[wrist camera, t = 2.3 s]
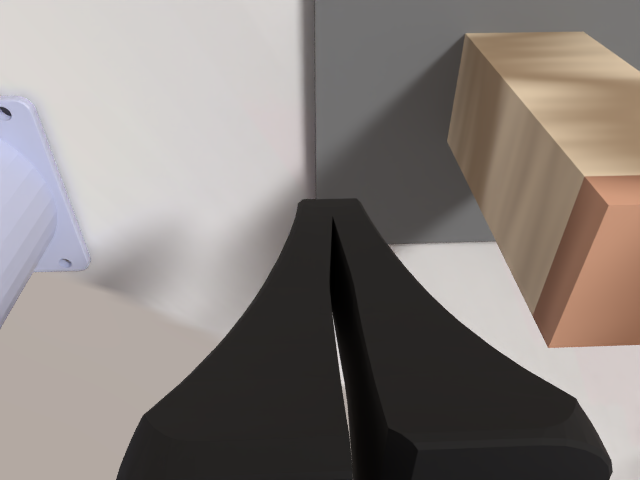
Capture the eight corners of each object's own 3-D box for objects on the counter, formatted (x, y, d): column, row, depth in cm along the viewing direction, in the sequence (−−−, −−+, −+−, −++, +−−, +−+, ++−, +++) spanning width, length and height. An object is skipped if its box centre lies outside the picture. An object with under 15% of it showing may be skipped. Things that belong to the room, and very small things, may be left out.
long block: (446, 141, 20) (548, 347, 12) (465, 33, 17) (609, 205, 9) (550, 139, 20) (717, 342, 12) (583, 31, 17) (821, 199, 10)
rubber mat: (316, 239, 23) (316, 246, 23) (313, -156, 14) (314, -156, 14) (793, 225, 24) (802, 232, 23) (1069, -158, 15) (1090, -158, 15)
